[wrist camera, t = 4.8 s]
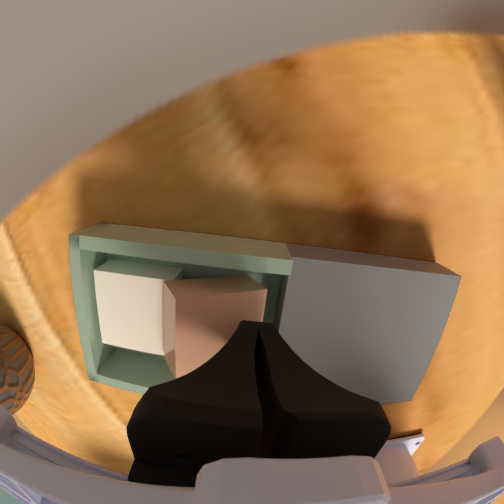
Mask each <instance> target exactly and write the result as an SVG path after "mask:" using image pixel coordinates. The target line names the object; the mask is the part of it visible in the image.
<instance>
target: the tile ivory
mask: <svg viewBox="0 0 504 504" xmlns="http://www.w3.org/2000/svg"><path fill="white" fill-rule="evenodd" d="M168 280H183V268H180V267H171V266H162V265H153V264H145V263H136V262H128V261H120V260H112V259H110V260H108V261H107V262H105V263H104V264H102V265H101V266H99V267H97V268H96V269H94V281H95V292H96V301H97V309H98V317H99V324H100V330H101V336H102V342H103V343H105V344H109V345H113V346H118V347H122V348H127V349H132V350H136V351H142V352H147V353H152V354H158V355H163V356H164V325H163V281H168Z"/></svg>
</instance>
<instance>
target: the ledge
mask: <svg viewBox="0 0 504 504" xmlns="http://www.w3.org/2000/svg"><path fill="white" fill-rule="evenodd" d="M285 244H286V246H287V248H288V251H289V253H290V255H291V257H292V259H293V264H292V270H291V276H290V275H281V279H280V286H279V292H278V298H277V304H276V310H275V316H274V322H273V325H274V326H275V328H276V329H277V331H278V332H279V334H280V335H281V336H282V338H283V339H284V340H285V341H286V343H287V344H288V345H289V346H290V348H291V349H292V350H293V351H294V352H295V353H296V354H297V355H298V356H299V357H300V358H301V359H302V360H303V361H304V362H305V363H306V364H308V365H309V366H310V367H311V368H313V369H314V370H315V371H316V372H318V373H319V374H321V375H322V376H324V377H325V378H327V379H328V380H330V381H332V382H333V383H335V384H337V385H339V386H341V387H342V388H345V389H347V390H349V391H351V392H353V393H356V394H358V395H361V396H364V397H367V398H370V399H373V400H376V401H379V403H380V404H387V403H396V402H404V401H411V400H412V398H413V396H414V394H415V392H416V390H417V389H418V387H419V385H420V383H421V381H422V379H423V377H424V375H425V372H426V370H427V368H428V366H429V364H430V362H431V359H432V357H433V355H434V353H435V350H436V348H437V346H438V343H439V341H440V338H441V336H442V333H443V331H444V328H445V325H446V323H447V320H448V317H449V314H450V311H451V309H452V306H453V303H454V299H455V296H456V293H457V290H458V287H459V283H460V280H461V276H460V275H458V274H456V273H454V272H453V271H451V270H449V269H447V268H446V267H444V266H442V265H440V264H438V263H436V262H429V261H422V260H415V259H408V258H400V257H393V256H385V255H378V254H370V253H363V252H355V251H347V250H339V249H331V248H323V247H315V246H307V245H299V244H291V243H285Z"/></svg>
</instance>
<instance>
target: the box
mask: <svg viewBox="0 0 504 504" xmlns="http://www.w3.org/2000/svg"><path fill="white" fill-rule="evenodd" d="M69 250H70V266H71V278H72V288H73V296H74V304H75V311H76V318H77V324H78V330H79V336H80V341H81V346H82V351H83V355H84V360H85V364H86V368H87V373H88V377H89V380H93V381H96V382H99V383H102V384H106V385H109V386H113V387H116V388H120V389H123V390H127V391H131V392H135V393H139V394H143V395H144V394H145V392H146V391H147V390H148V388H149V387H151V386H155V385H158V384H161V383H165V382H168V381H171V380H174V379H175V378H174V376H173V374H172V372H171V370H170V368H169V366H168V364H167V362H166V360H165V356H163V355H158V354H152V353H147V352H142V351H136V350H132V349H127V348H122V347H118V346H113V345H109V344H105V343H103V342H102V336H101V330H100V324H99V317H98V309H97V301H96V292H95V281H94V269H96V268H97V267H99V266H101V265H102V264H104V263H105V262H107V261H108V260H110V259H112V260H120V261H128V262H136V263H145V264H153V265H162V266H171V267H180V268H183V279H197V278H211V277H225V276H237V275H248V276H249V277H250V278H252V279H253V280H255V281H256V282H258V283H259V284H261V285H262V286H264V287H265V288H267V296H266V303H265V309H264V316H263V322H267V323H272V324H273V322H274V316H275V310H276V304H277V298H278V292H279V286H280V279H281V275H290V276H291V270H292V264H293V259H292V257H291V255H290V253H289V251H288V248H287V246H286V244H285V243H283V242H274V241H266V240H257V239H249V238H240V237H231V236H222V235H214V234H205V233H195V232H186V231H177V230H168V229H158V228H148V227H139V226H129V225H119V224H109V223H98V224H96V225H93V226H90V227H87V228H84V229H81V230H79V231H76V232H73V233H70V234H69Z"/></svg>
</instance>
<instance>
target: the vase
mask: <svg viewBox="0 0 504 504" xmlns="http://www.w3.org/2000/svg"><path fill="white" fill-rule="evenodd" d="M34 380H35V369H34V363H33V358H32V355H31V352H30V350H29V348H28V346H27V345H26V343H25V342H24V340H23V339H22V338H21V337H20V336H19V335H18V334H17V333H16V332H15V331H14V330H12V329H10V328H8V327H6V326H4V325H2V324H0V405H2V406H3V407H5V408H6V409H7V410H8V411H9V412H10V413H11V414H12V415H13V414H15V413H16V412H17V411H19V410H20V408H21V407H22V406H23V405H24V404H25V402H26V401H27V399H28V398H29V396H30V394H31V391H32V388H33V385H34Z"/></svg>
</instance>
